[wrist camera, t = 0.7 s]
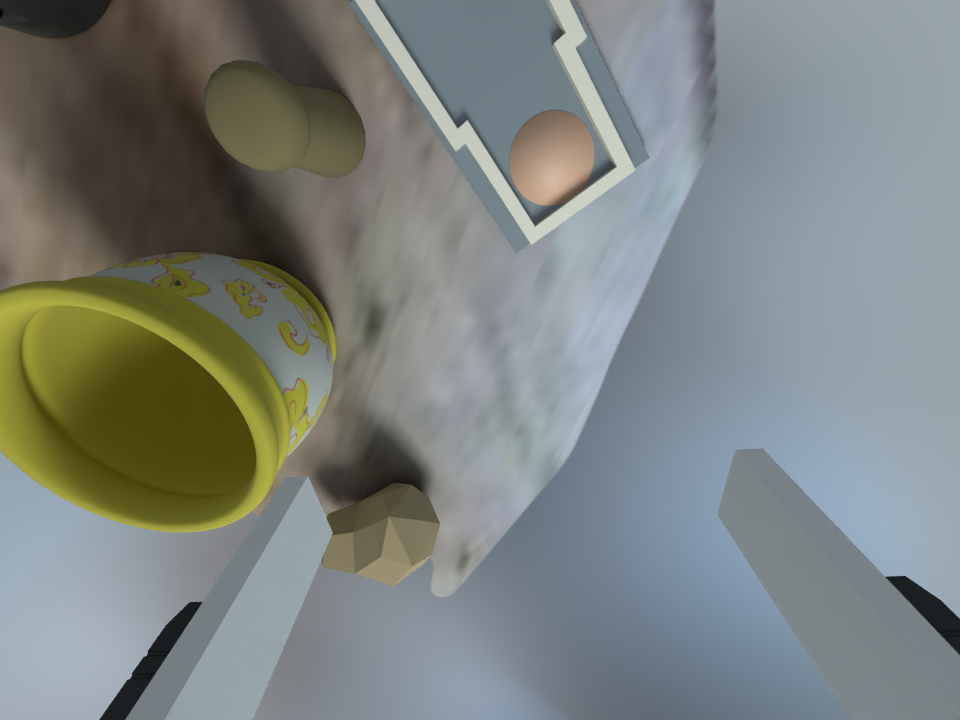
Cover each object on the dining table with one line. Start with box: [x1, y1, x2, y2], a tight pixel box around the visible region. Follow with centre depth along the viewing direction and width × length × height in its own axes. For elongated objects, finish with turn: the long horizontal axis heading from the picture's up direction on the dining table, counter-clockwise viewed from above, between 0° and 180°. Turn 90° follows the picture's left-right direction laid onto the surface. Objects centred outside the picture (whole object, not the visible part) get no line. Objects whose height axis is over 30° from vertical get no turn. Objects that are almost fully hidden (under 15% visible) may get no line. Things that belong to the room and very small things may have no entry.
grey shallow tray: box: [349, 0, 649, 253], centre depth 26 cm, size 20×12×2 cm, turn 36°
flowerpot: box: [0, 252, 336, 532], centre depth 29 cm, size 18×18×16 cm
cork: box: [204, 60, 366, 178], centre depth 24 cm, size 6×6×11 cm
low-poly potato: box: [321, 483, 440, 586], centre depth 42 cm, size 15×11×12 cm
